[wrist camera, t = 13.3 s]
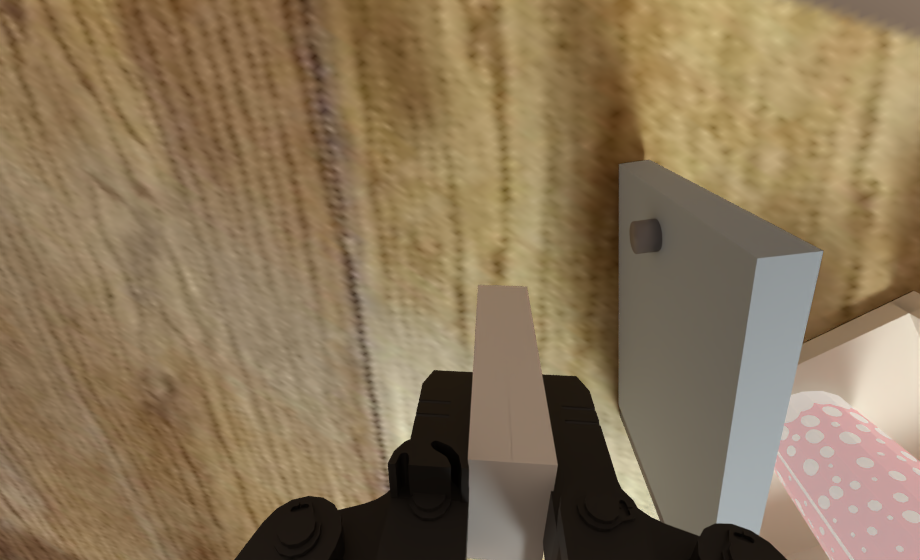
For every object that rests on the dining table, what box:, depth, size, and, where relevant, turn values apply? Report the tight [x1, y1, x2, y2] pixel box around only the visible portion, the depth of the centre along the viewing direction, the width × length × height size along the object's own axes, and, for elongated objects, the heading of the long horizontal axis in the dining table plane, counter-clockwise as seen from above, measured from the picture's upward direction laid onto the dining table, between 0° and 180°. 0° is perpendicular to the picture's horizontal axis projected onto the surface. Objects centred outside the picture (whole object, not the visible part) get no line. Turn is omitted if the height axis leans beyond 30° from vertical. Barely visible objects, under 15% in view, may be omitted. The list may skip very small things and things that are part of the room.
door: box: [619, 160, 823, 536], centre depth 16 cm, size 13×2×10 cm, turn 9°
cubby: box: [620, 291, 920, 560], centre depth 19 cm, size 14×16×11 cm
